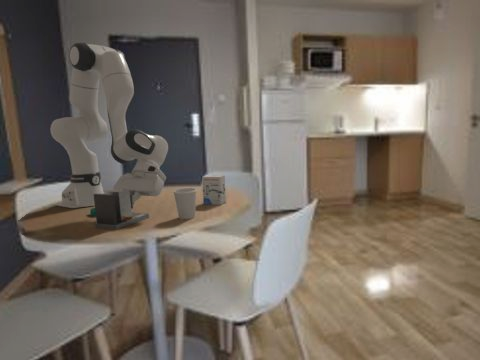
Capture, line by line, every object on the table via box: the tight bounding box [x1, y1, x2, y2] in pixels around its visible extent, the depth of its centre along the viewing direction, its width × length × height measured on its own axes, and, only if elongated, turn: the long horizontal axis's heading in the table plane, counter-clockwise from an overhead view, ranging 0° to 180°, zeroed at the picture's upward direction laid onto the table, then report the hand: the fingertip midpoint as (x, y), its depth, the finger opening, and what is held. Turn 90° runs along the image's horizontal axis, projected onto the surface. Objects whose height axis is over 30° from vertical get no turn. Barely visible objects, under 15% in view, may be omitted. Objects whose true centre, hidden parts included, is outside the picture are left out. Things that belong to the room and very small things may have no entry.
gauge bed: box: [93, 193, 150, 231], centre depth 127 cm, size 10×16×12 cm, turn 153°
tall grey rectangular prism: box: [105, 188, 134, 221], centre depth 126 cm, size 9×6×10 cm
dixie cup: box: [172, 187, 198, 220], centre depth 129 cm, size 8×8×10 cm
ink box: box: [201, 174, 227, 206], centre depth 150 cm, size 9×5×12 cm, turn 68°
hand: (128, 203), depth 130 cm, fingers closed
